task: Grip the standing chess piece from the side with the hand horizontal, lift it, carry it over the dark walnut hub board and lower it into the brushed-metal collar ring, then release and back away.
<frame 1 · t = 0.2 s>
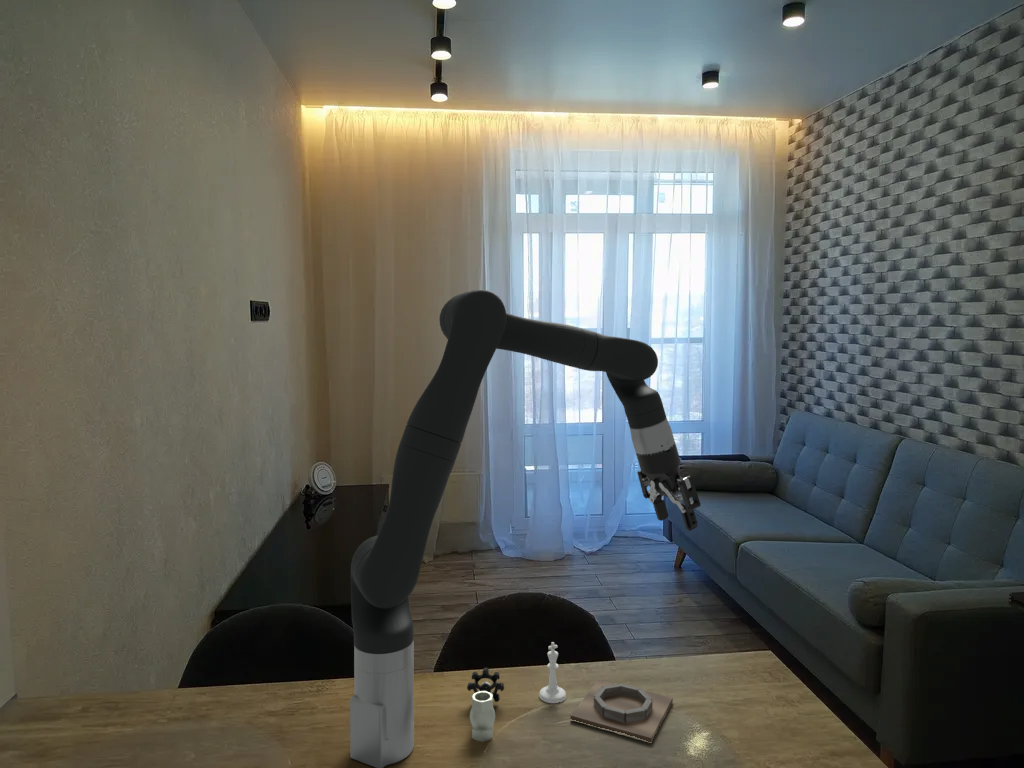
hand: (677, 523, 121), 31 cm above the table, tool tilted 20°, fingers open, 8 cm apart
hub board: (622, 711, 112), on the table
chess piece: (552, 697, 117), on the table
valve: (483, 723, 108), on the table
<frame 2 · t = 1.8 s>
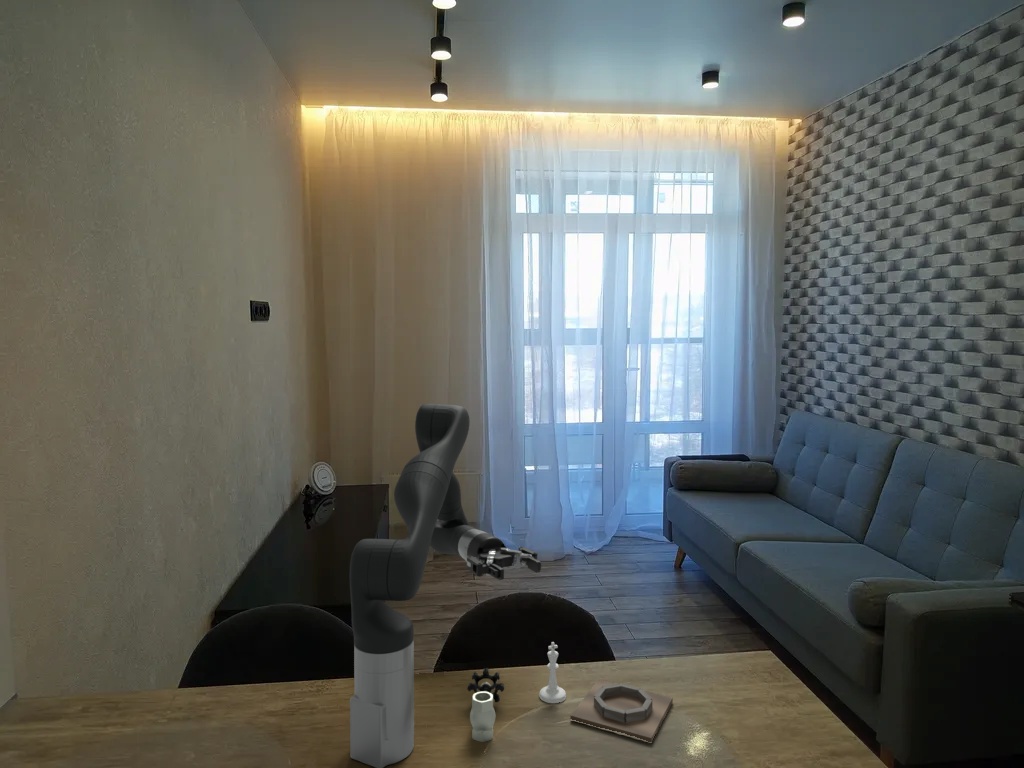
hand: (521, 571, 125), 20 cm above the table, tool horizontal, fingers open, 8 cm apart
nothing on the table moved.
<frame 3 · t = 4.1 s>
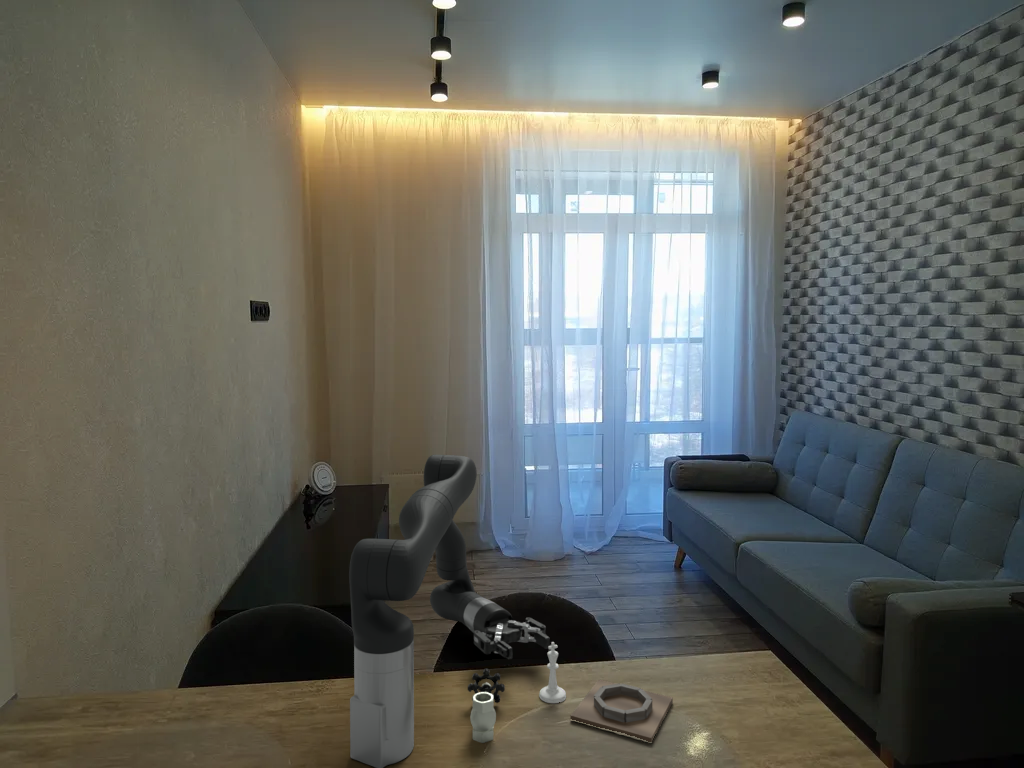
hand: (530, 648, 123), 6 cm above the table, tool horizontal, fingers open, 8 cm apart
nothing on the table moved.
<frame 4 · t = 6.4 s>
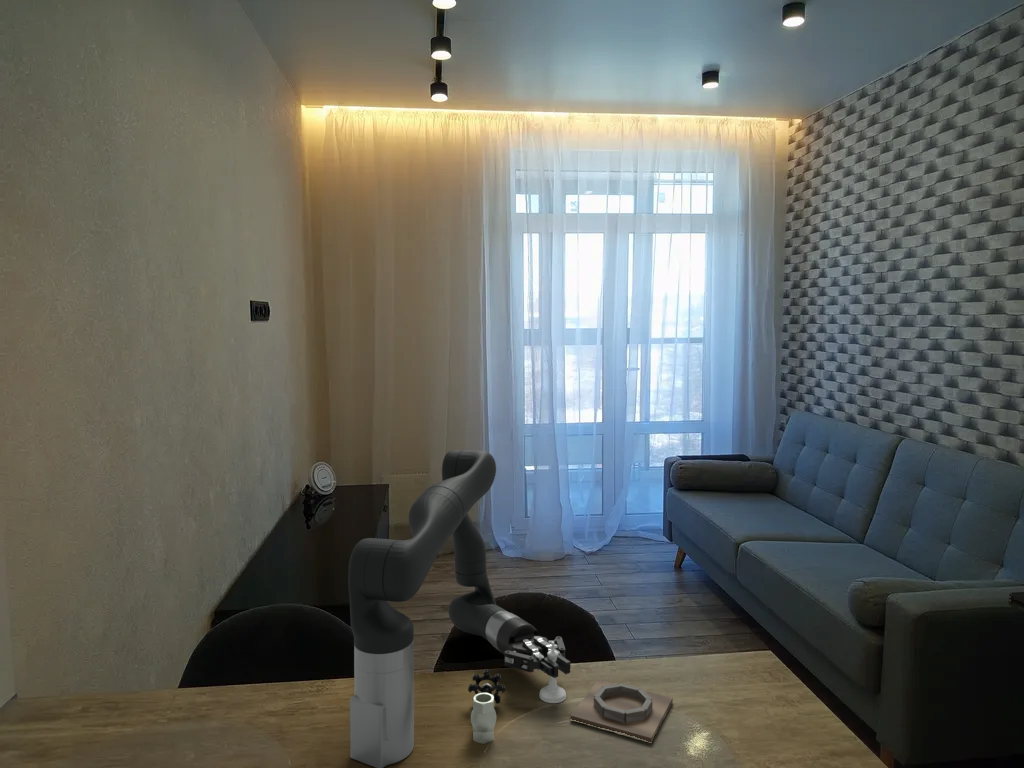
hand: (562, 670, 114), 6 cm above the table, tool horizontal, fingers closed on chess piece
chess piece: (552, 697, 117), on the table, touching gripper
everything else where it was.
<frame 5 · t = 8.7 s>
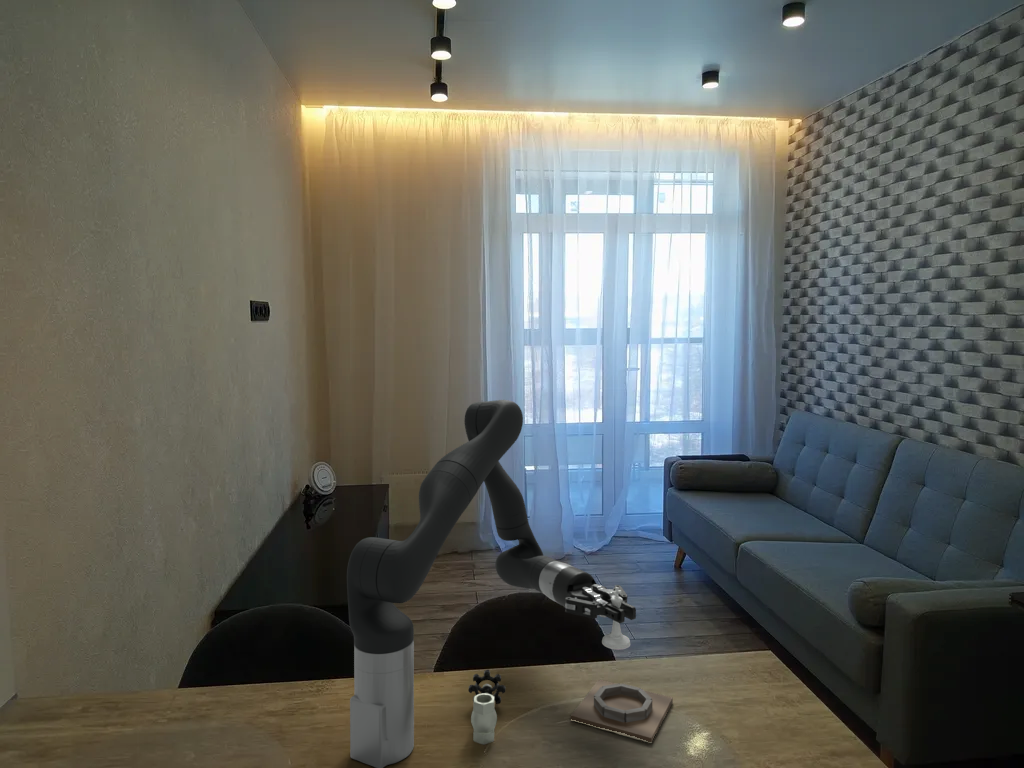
hand: (628, 615, 109), 18 cm above the table, tool horizontal, fingers closed on chess piece
chess piece: (616, 644, 112), point 11 cm above the table, touching gripper
everything else where it was.
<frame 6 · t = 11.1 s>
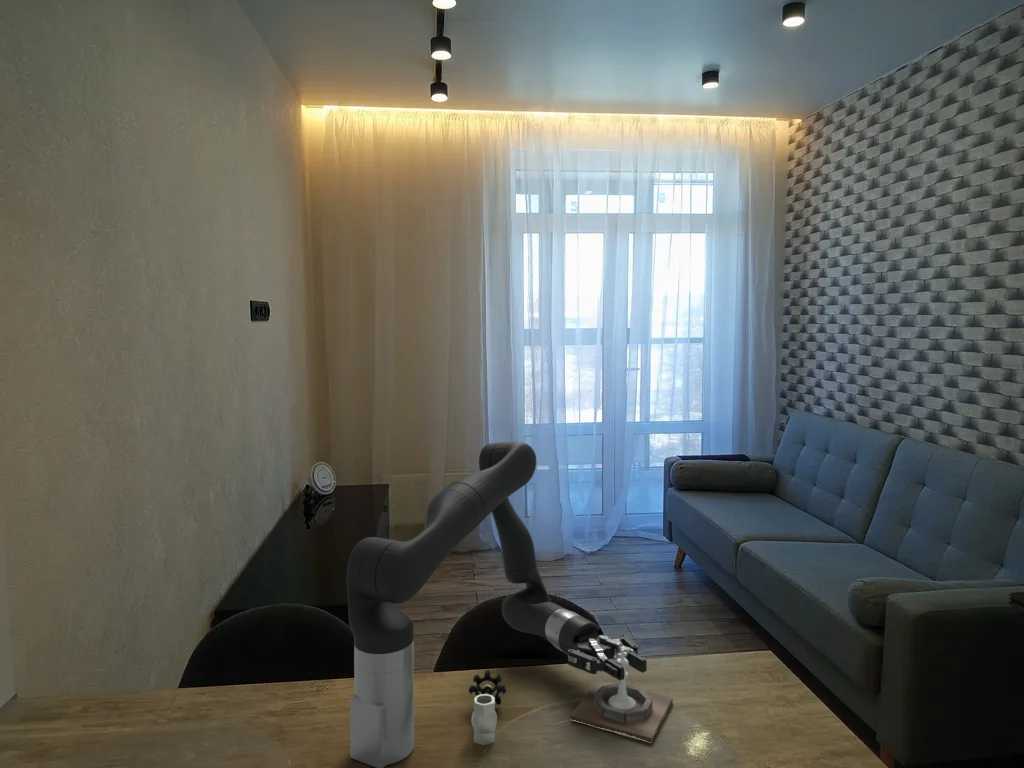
hand: (633, 670, 109), 8 cm above the table, tool horizontal, fingers open, 4 cm apart
chess piece: (622, 707, 112), point 1 cm above the table, touching hub board
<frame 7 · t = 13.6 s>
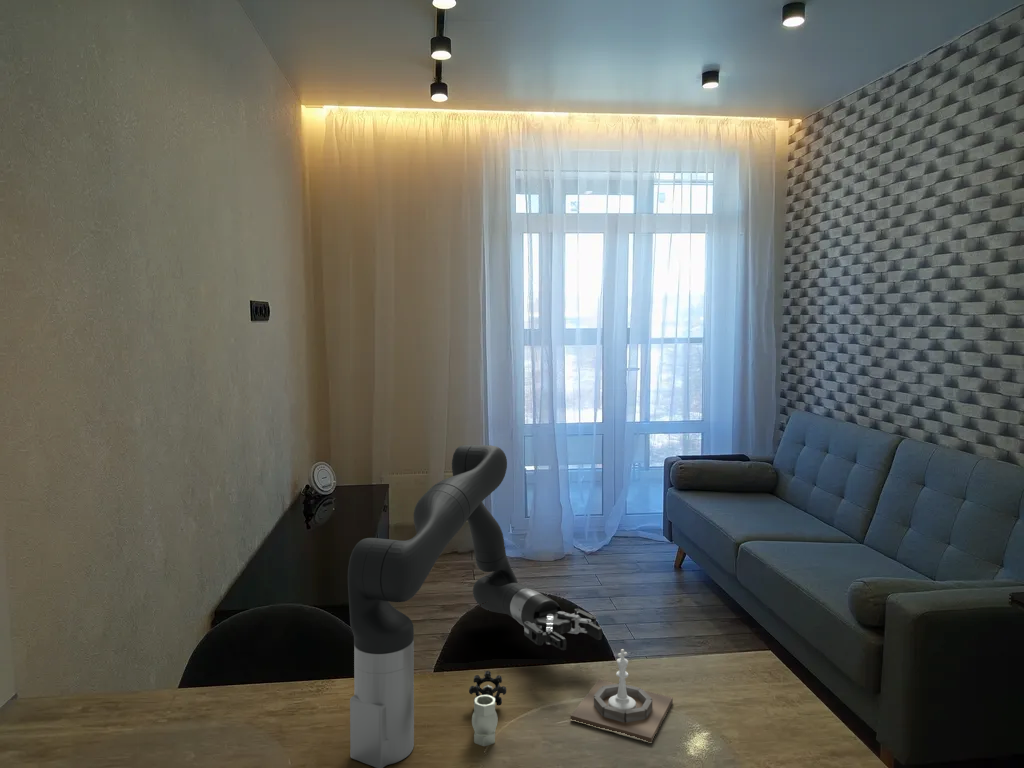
hand: (583, 639, 121), 9 cm above the table, tool horizontal, fingers open, 8 cm apart
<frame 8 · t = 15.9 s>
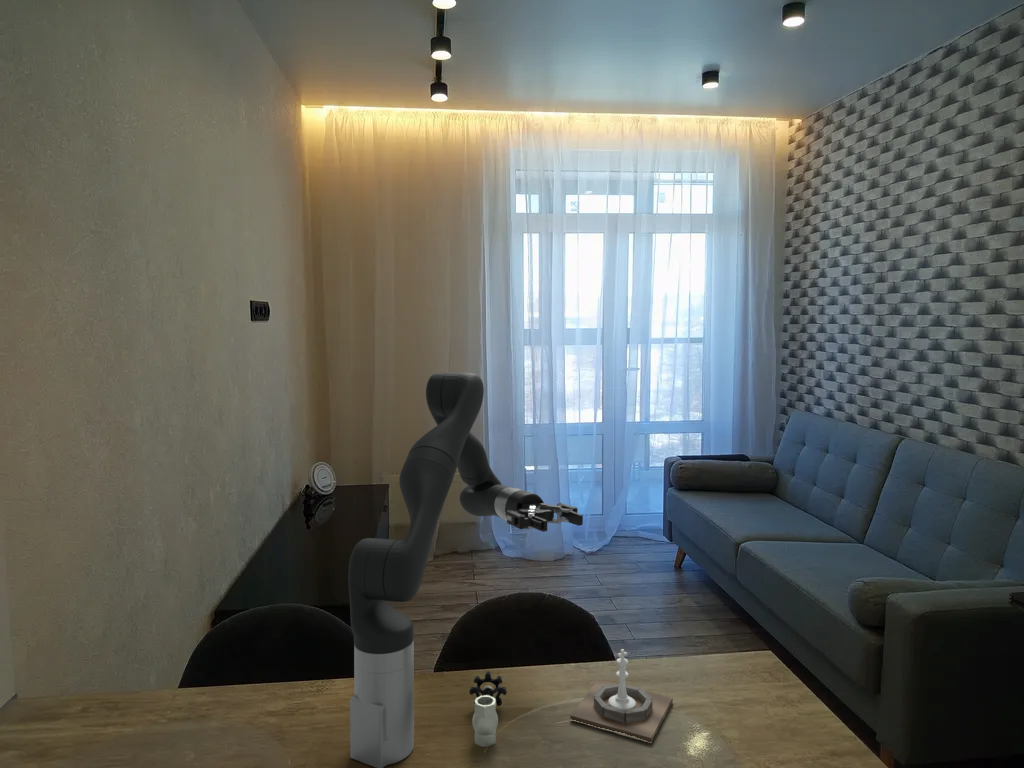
hand: (564, 523, 123), 30 cm above the table, tool horizontal, fingers open, 8 cm apart
at the end: chess piece 0.2 cm from the hub board (horizontally); chess piece tilted 0°; the gripper is holding nothing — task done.
